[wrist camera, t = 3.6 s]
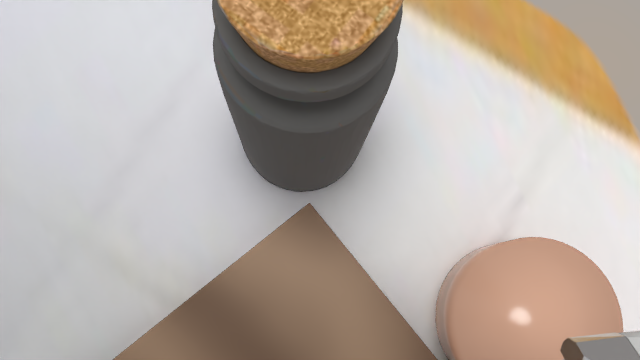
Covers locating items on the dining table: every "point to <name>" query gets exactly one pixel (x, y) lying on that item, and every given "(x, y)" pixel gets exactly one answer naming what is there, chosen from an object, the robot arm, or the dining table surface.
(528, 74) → the dining table surface
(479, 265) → the peach dome knob
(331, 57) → the bottle
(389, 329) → the board
